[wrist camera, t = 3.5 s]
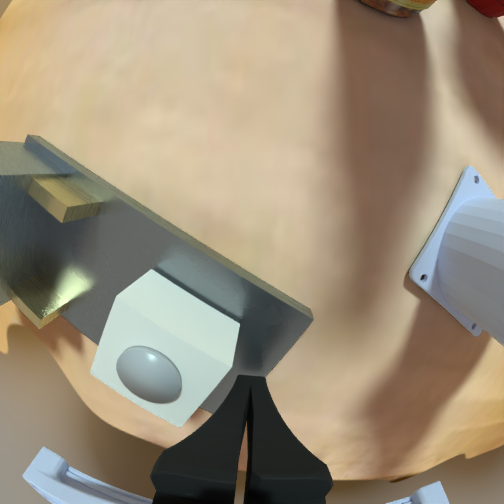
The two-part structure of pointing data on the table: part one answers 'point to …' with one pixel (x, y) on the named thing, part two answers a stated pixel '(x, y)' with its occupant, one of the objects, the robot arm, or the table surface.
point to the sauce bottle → (399, 6)
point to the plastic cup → (489, 7)
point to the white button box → (164, 348)
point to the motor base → (120, 259)
